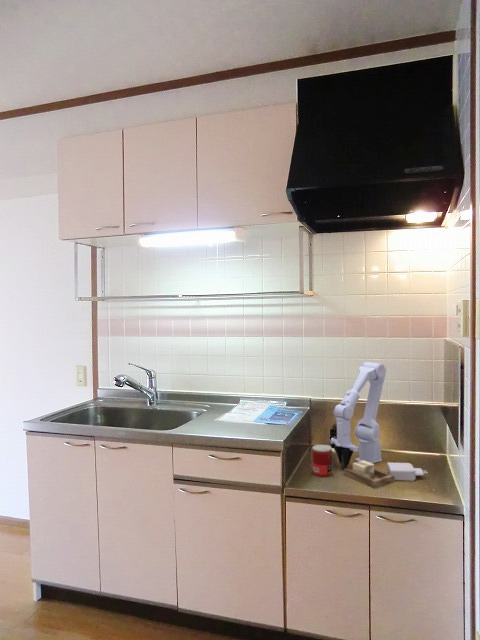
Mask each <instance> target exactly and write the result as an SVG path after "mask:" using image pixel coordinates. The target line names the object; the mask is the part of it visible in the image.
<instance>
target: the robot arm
mask: <svg viewBox="0 0 480 640" xmlns="http://www.w3.org/2000/svg"><path fill="white" fill-rule="evenodd" d="M358 372H359V374H358V376H357V378H356V380H355V382H354V384H353V387H352V388H351V389H348V390H347V391H346V393H345V395H344V397H343V398H342V400H341V401H340V403H338V404H336V405H335V407H334V410H333V416H334V418H335V421H336V438H331V439H330V444H331V445H335V446H333V449H334V451H335V453H336V455H337V458H338V459H337V460H338V462H339V464H340V465H341V455H342V454H343V457H344V465H345V466H347V467H348V466H350V462H351V458H352V457H353V456H352V455H353V453H357V452H358V457H356V458H354V460H355V461H356V462H359V461H362V460H364V461H366V462H369V463H372V464H375V463H378V462H382V461H383V459H382V445H381V443H380V441H379V438H380V436H381V435H380V434H381V433H380V429H381V428H380V427H381V426H380V425H379V423H378V422H377V421H376V419H377V416H378V411H379V406H380V400H381V396H382V391H383V386H384V382H385V377H386V374H387V373H386V372H387V369H386V367H385V364H383V363H382V362H371V361H365V360H364V361H363V362H362V363H361V364H360V367H359V368H358ZM368 382H369V385H370V386H369V391H368V394H367V395H368V396H367V398H366V403H365V409H364V412H363V417H362V418H361V419H359V420H358V421H357V425H356V426H355V428H354V435H355V438H357V441H358V446H357V445H355V444H354V443H352V441H351V439H352V437H351V431H352V430H351V419H352V418H353V416H354V412H355V411H354V410H355V406H356V405H357V403H358V402H359V399H360V398H361V397H360V396H361V395H360V392H361V391H362V389H363V388H364V387H365V386H366V384H367V383H368Z"/></svg>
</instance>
